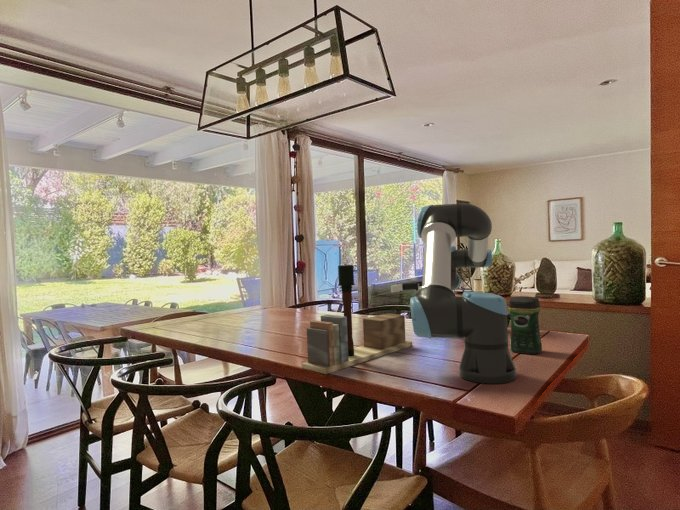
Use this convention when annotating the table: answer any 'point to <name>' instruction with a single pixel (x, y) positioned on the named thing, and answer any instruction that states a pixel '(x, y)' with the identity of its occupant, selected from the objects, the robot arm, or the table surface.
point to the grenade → (347, 299)
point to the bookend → (384, 331)
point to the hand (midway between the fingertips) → (405, 289)
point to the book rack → (337, 346)
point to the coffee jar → (525, 325)
